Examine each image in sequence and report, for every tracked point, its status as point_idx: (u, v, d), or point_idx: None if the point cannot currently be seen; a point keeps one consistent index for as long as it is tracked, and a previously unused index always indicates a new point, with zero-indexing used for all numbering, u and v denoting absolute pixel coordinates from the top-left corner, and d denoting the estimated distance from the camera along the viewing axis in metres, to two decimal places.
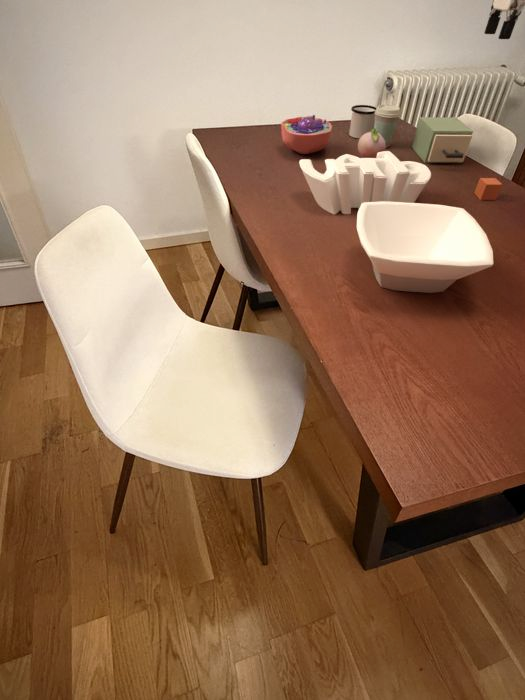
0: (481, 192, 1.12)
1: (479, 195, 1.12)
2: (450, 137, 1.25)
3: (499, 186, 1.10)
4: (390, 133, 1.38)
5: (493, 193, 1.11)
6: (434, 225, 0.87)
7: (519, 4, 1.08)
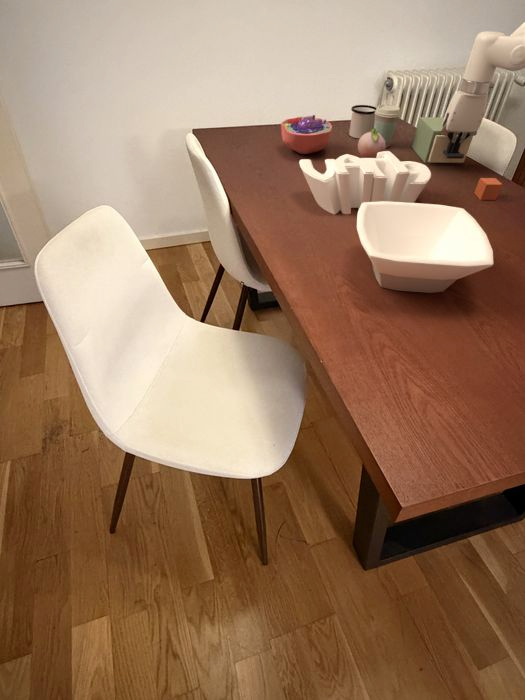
0: (481, 192, 1.12)
1: (479, 195, 1.12)
2: None
3: (499, 186, 1.10)
4: (390, 133, 1.38)
5: (493, 193, 1.11)
6: (434, 225, 0.87)
7: (473, 133, 1.21)
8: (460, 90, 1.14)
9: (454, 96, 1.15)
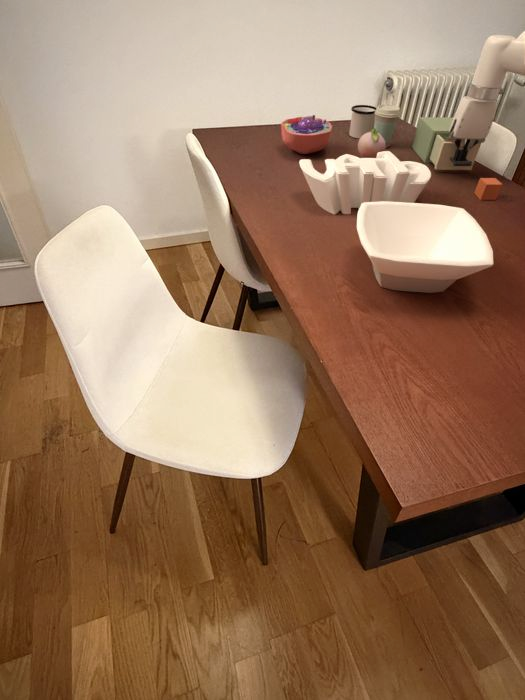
0: (481, 192, 1.12)
1: (479, 195, 1.12)
2: None
3: (499, 186, 1.10)
4: (390, 133, 1.38)
5: (493, 193, 1.11)
6: (434, 225, 0.87)
7: (482, 140, 1.17)
8: (468, 96, 1.09)
9: (462, 102, 1.11)
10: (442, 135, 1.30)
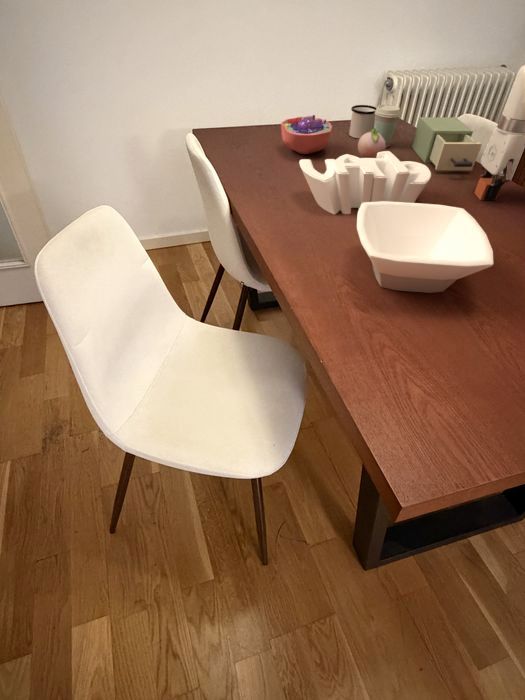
0: (481, 192, 1.12)
1: (479, 195, 1.12)
2: (459, 145, 1.20)
3: None
4: (390, 133, 1.38)
5: None
6: (434, 225, 0.87)
7: None
8: (520, 132, 0.99)
9: (517, 140, 0.99)
10: (443, 136, 1.30)
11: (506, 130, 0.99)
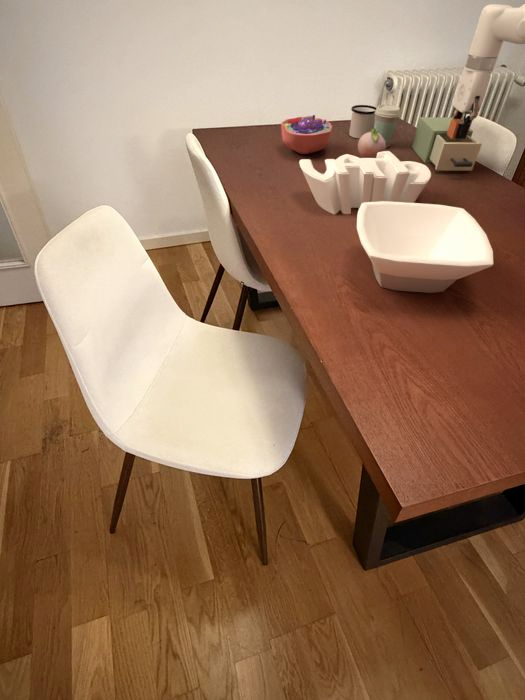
0: (452, 131, 1.21)
1: (451, 134, 1.22)
2: (459, 145, 1.20)
3: None
4: (390, 133, 1.38)
5: None
6: (434, 225, 0.87)
7: None
8: (485, 70, 1.08)
9: (482, 77, 1.09)
10: (443, 136, 1.30)
11: (472, 68, 1.09)
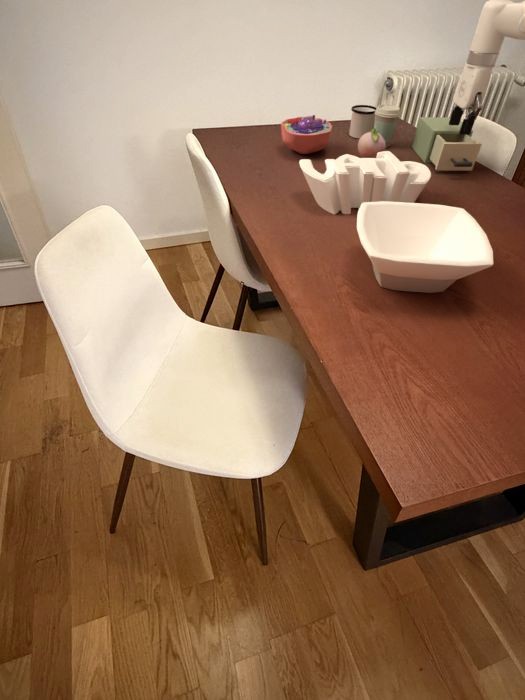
0: None
1: None
2: (459, 145, 1.20)
3: None
4: (390, 133, 1.38)
5: None
6: (434, 225, 0.87)
7: None
8: (486, 65, 1.08)
9: (483, 73, 1.08)
10: (443, 136, 1.30)
11: (473, 64, 1.08)
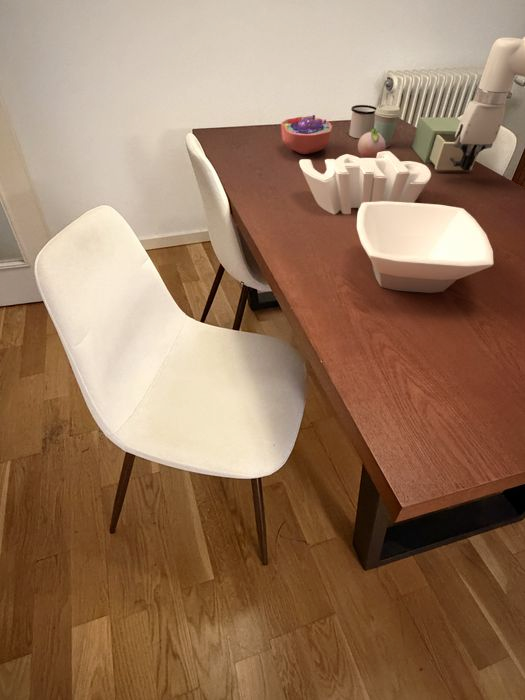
0: None
1: None
2: None
3: None
4: (390, 133, 1.38)
5: None
6: (434, 225, 0.87)
7: (489, 145, 1.14)
8: (475, 100, 1.06)
9: (469, 107, 1.08)
10: (442, 135, 1.30)
11: None
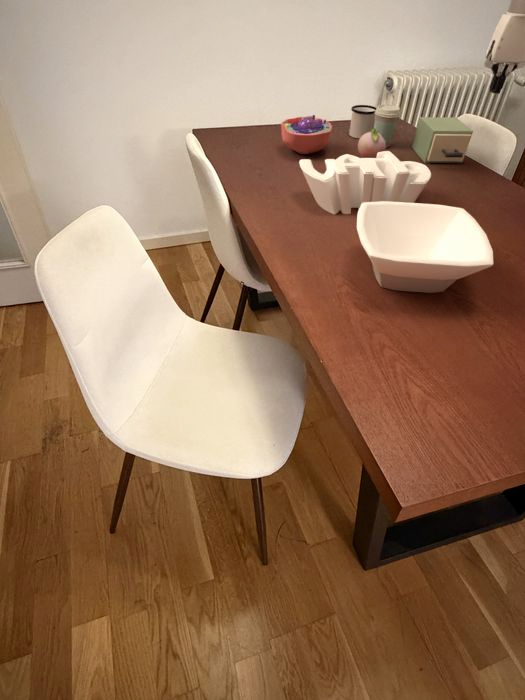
0: None
1: None
2: (449, 136, 1.25)
3: None
4: (390, 133, 1.38)
5: None
6: (434, 225, 0.87)
7: (521, 65, 1.09)
8: (509, 11, 1.01)
9: (502, 19, 1.03)
10: None
11: None
